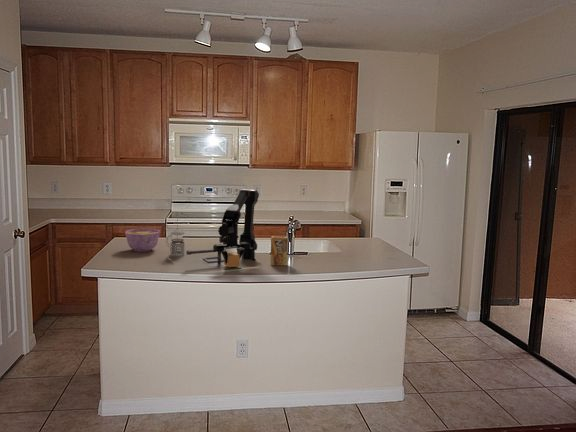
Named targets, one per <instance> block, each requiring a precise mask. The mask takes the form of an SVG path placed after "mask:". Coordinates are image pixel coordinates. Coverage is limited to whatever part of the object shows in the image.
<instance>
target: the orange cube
mask: <svg viewBox="0 0 576 432" xmlns="http://www.w3.org/2000/svg"><path fill="white" fill-rule="evenodd" d="M239 258H240V259H241V257H240V255H239V254H237V252H227V264H226V263H225V260H224V265H223V266H226V267H227V268H232V267H235V268H236V267H240V260H239Z"/></svg>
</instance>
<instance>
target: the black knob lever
mask: <svg viewBox="0 0 576 432" xmlns="http://www.w3.org/2000/svg"><path fill="white" fill-rule="evenodd" d="M208 253H209V254H210V253H217V256H218V264H221V258H222V253H221V252H217V251H215V250H213V248H212V249H200V250H186V255H187V256H188V255H190V256H191V255H194V254H195V255H196V254H208Z"/></svg>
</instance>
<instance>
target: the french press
mask: <svg viewBox="0 0 576 432" xmlns="http://www.w3.org/2000/svg"><path fill="white" fill-rule="evenodd" d="M175 216H176V218H177V219H176V223H177V224H176V226H177V227H176V228H177V229H176V230H172V231H170V232H169V235H168V236H166V238H165V240H166V242H165V244H166V246H167V247H168V248H169V250H170V255H169V257H170V256H171V257H183V256H185V242H184V238H178V236H182V235H185V231H183V230H179V229H178V228H179V227H178V225H179V224H178V223H179V222H178V216H180V214H179V212H178V213H175ZM173 235H174V236H176V238H173ZM169 238H171V242H170V245H169V242H168V241H169V240H168V239H169Z"/></svg>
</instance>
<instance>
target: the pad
mask: <svg viewBox="0 0 576 432" xmlns="http://www.w3.org/2000/svg"><path fill="white" fill-rule="evenodd" d="M243 270H244V269H243V268H242V267H235V268H224V269H223V271H225V272H226V273H227V272H228V273H229V272H237V271H243Z"/></svg>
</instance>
